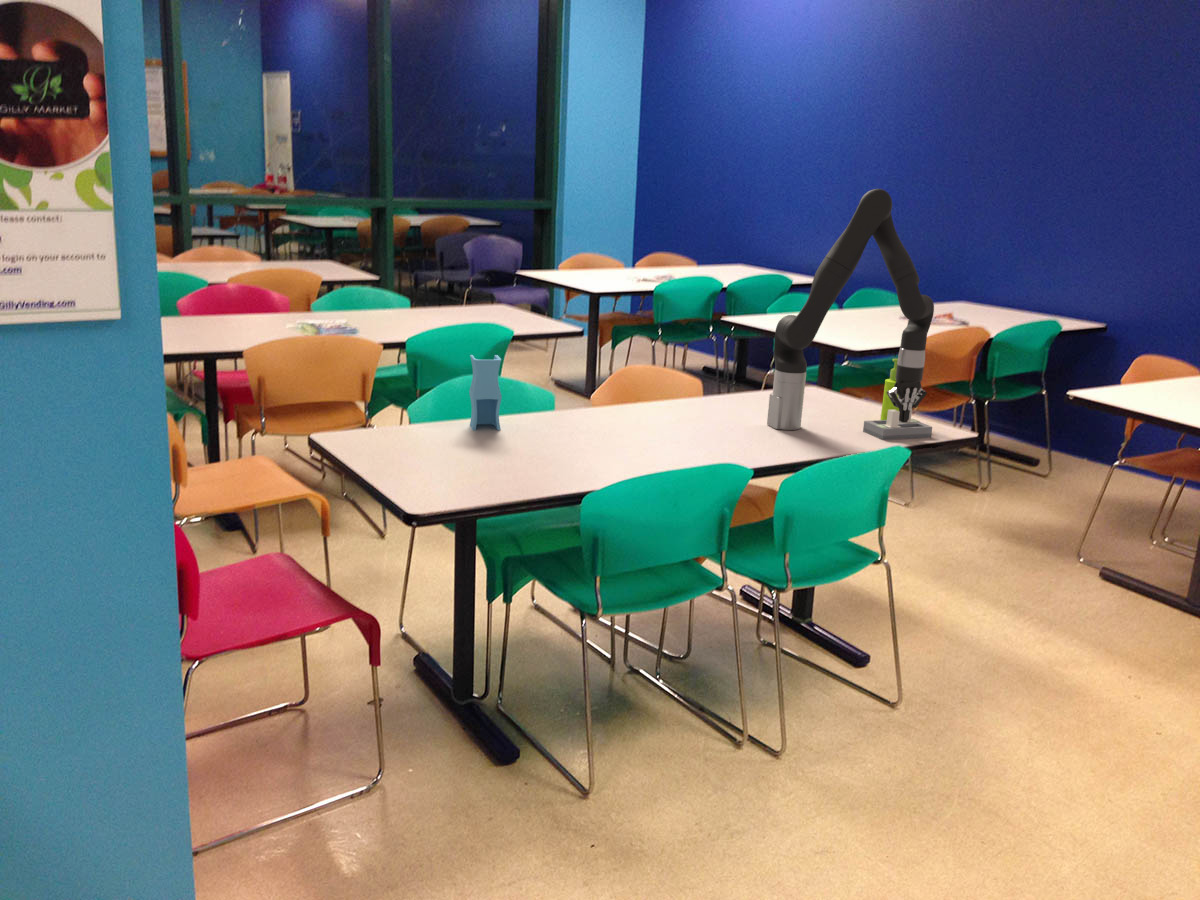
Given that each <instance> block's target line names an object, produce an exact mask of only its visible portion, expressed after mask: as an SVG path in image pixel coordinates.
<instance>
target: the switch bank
mask: <svg viewBox="0 0 1200 900" xmlns="http://www.w3.org/2000/svg"><path fill="white" fill-rule="evenodd" d="M911 421H913V423H898V426H900V427H901V428H887V427H885V426H883V425H886V422H887V420H880V419H874V420H864V421H863V428H862V432H863V433H866V434H869V435H870V436H873V437H874V438H877V439H880V440H882V441H883V440H885V441H886V440H887V441H888V440H889V441H890V440H903V439H904V440H905V439H926V438H932V433H933V432H932V431H933V426H931V425H929V424H925V423H924V422H921V421H919V420H917V419H914V418H911Z"/></svg>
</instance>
